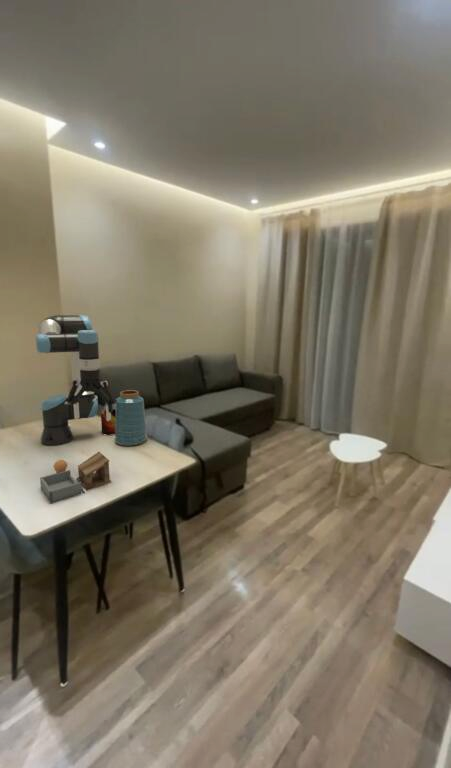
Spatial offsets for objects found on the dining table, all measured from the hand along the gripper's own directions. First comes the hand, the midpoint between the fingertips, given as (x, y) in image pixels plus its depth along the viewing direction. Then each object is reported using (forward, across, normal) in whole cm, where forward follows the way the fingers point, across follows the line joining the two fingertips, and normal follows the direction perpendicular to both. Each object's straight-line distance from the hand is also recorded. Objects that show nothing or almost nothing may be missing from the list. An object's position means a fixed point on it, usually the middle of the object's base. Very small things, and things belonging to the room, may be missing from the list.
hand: (92, 419), depth 143 cm
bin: (+23, -6, -18) cm, 30 cm away
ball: (+18, -12, -7) cm, 23 cm away
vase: (+24, +4, +35) cm, 42 cm away
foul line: (+23, -1, -13) cm, 27 cm away
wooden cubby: (+23, +3, -9) cm, 25 cm away
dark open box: (+23, -12, -7) cm, 27 cm away
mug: (+24, -10, +48) cm, 54 cm away
